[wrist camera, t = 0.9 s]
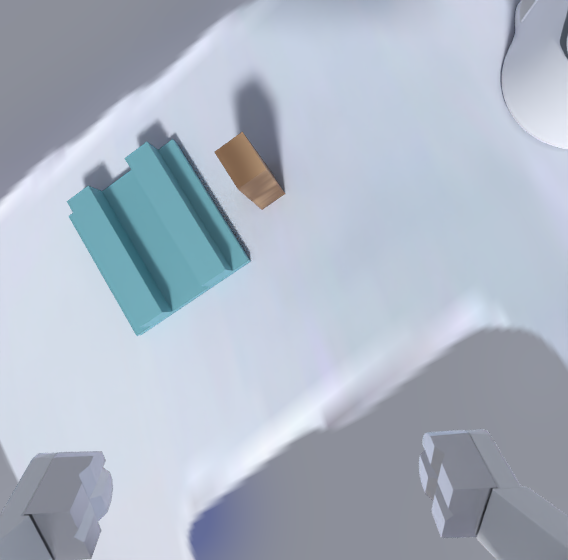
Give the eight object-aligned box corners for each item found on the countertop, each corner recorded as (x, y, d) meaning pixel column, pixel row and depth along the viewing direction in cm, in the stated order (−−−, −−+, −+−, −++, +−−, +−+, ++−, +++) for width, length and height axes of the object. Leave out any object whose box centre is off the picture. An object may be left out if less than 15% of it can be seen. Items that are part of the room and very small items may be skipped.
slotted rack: (176, 142, 47) (162, 130, 44) (250, 261, 45) (241, 258, 42) (74, 217, 49) (52, 212, 46) (141, 334, 47) (124, 338, 44)
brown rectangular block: (265, 163, 45) (242, 131, 36) (285, 193, 45) (266, 168, 36) (242, 179, 46) (214, 151, 37) (262, 209, 45) (237, 189, 36)
